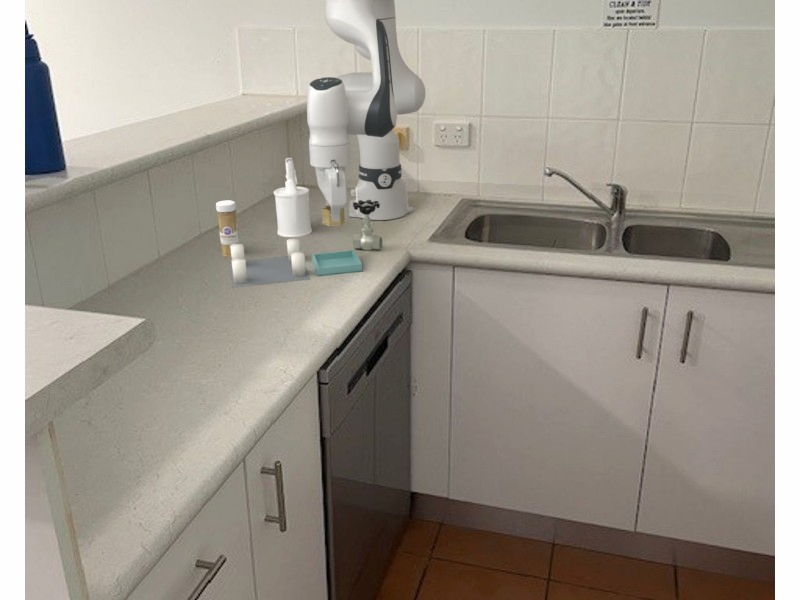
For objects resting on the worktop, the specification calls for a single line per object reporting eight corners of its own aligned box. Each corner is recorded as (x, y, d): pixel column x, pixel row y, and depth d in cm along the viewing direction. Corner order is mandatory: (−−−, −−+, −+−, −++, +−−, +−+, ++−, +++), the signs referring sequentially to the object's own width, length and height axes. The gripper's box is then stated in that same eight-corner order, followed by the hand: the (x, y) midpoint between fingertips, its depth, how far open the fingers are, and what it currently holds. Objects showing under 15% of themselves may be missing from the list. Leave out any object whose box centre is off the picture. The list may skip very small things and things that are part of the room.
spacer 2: (233, 279, 161) (231, 258, 159) (247, 278, 162) (245, 257, 160) (234, 284, 158) (231, 263, 156) (248, 283, 159) (245, 262, 157)
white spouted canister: (275, 229, 196) (268, 156, 188) (309, 226, 198) (303, 153, 191) (280, 241, 187) (273, 164, 179) (315, 237, 189) (310, 161, 181)
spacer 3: (287, 258, 173) (285, 238, 171) (300, 257, 174) (298, 237, 172) (288, 262, 171) (287, 242, 169) (301, 261, 171) (300, 241, 169)
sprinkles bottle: (223, 259, 175) (216, 205, 169) (221, 253, 179) (214, 200, 173) (242, 257, 176) (236, 203, 171) (239, 251, 180) (233, 198, 175)
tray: (312, 262, 171) (311, 254, 171) (354, 258, 174) (353, 249, 173) (317, 277, 162) (317, 268, 161) (362, 272, 164) (361, 264, 164)
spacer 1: (232, 264, 170) (230, 244, 169) (245, 263, 171) (243, 243, 169) (232, 268, 168) (230, 248, 166) (245, 267, 168) (243, 246, 166)
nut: (321, 221, 165) (320, 206, 164) (343, 219, 166) (342, 204, 165) (324, 226, 161) (323, 211, 160) (346, 224, 162) (345, 209, 161)
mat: (230, 262, 172) (230, 261, 172) (301, 255, 176) (301, 254, 176) (232, 288, 157) (232, 287, 157) (310, 280, 161) (310, 279, 161)
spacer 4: (291, 273, 164) (290, 252, 162) (305, 271, 165) (303, 251, 163) (293, 277, 162) (291, 256, 160) (306, 276, 162) (305, 255, 160)
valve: (378, 255, 175) (376, 207, 171) (351, 254, 177) (349, 206, 172) (384, 246, 181) (382, 200, 177) (358, 245, 183) (356, 199, 178)
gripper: (352, 164, 149) (355, 229, 154) (337, 146, 167) (340, 204, 173) (322, 166, 148) (326, 231, 153) (309, 148, 166) (313, 207, 171)
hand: (333, 217), depth 163 cm, fingers closed on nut, 4 cm apart
